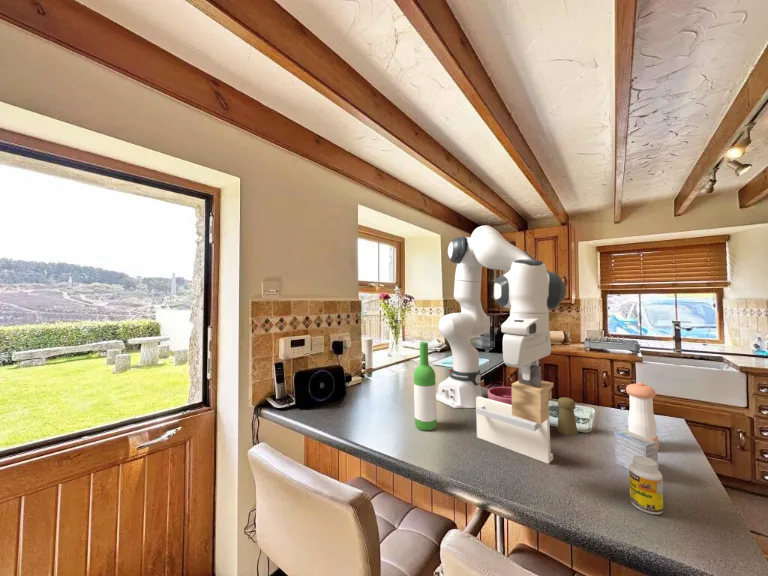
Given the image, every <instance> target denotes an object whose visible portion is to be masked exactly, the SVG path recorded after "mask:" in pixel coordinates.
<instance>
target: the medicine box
mask: <svg viewBox="0 0 768 576" xmlns="http://www.w3.org/2000/svg"><path fill="white" fill-rule="evenodd" d="M627 430H628V429H626V430H625V429H623V430H620V431H616V432H614V450H615V451H614V452H615V454H614V455H615V464H617V465H619V466H621V467H623V468H625V469H626V470H628V471H629V466H630V464H632V463H633V457H634V456H645V457H648V458H651V459H653V460H654V461H656V463H657V470H658V471H659V469H660V468H659V458H658V457H659V455H658V451H657V443H656V442H654V441H652V440H650V439H647V438H645V437H642V436H640V435H637V434H635V433H632V432H630V431H627Z"/></svg>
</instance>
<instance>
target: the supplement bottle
mask: <svg viewBox="0 0 768 576" xmlns="http://www.w3.org/2000/svg"><path fill="white" fill-rule="evenodd" d="M628 472H629V473H628V474H629V475H628V479H629V481H628V482H629V500H630V503H631V504H632V505H633V506H634V507H635V508H636V509H638V510H639V511H642V512H643V513H646V514H650V515H660V514H662V513H663V512H664V488H663V486H664V485H663V484H664V483H663V475H662V473H661V471H658V470H657V463H656V461H654V460H653V459H651V458H648V457H645V456H634V457H633V463H632V464H630V466H629V470H628Z"/></svg>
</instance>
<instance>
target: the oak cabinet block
mask: <svg viewBox="0 0 768 576" xmlns="http://www.w3.org/2000/svg"><path fill="white" fill-rule="evenodd" d="M530 372H532V379H530V380H524V379H523V378H522V371H521V368H518V380H517V381H514V382H513V383H511V387H512V415H513V416H516V417H519V418H522V419H526V420H529V421H532V422H535V423H538V424H542V423H543V422H544V421H546V420H547V419H548V418H549V419H550V413H549V411H550V409H549V408H550V405H549V403H550V402H549V399H550V400H551V399H552V388H554V382H552V381H551V382H550V381H546V380H542V366H539V365H538V366H536V365H531V366H530Z"/></svg>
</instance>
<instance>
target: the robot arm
mask: <svg viewBox="0 0 768 576" xmlns="http://www.w3.org/2000/svg"><path fill="white" fill-rule="evenodd" d="M447 255H448V259H449V261H450V262H451V263H453V264H456V267H455V273H454V283H453V284H454V288H453V298H454V300H455V301H456V302H457V303H458V304H459V306H460V311H461V312H452V313H448V314H445V315H443V316H442V317H440V319H439V320H438V321H439V322H438V331H439V333H440V334H441V336H442V337H443V338H444V339H446V341H447V342H448V344H449V346H450V350H451V355H452V356H451V357H452V367H451V368H450V369H448V370H447V371H448V372H447V373H448V374H449V373H450V374H449V376H448V377H446V378H445V379H444V380H442V381H441V382H440V383H439V384H438V386H437V391H436V402H437V401H438V402H440V403H441V404H445V405H447V406H449V407H451V408H454V409H460V408H465V409H474V408H475V409H476V397H478V396H479V397H483V394H482V387H481V382H482V381H481V377H482V376H481V369H480V353H479V350H478V349H477V348H475V347H474V346H473V345H472V343H471V337H479V336H482V335H484V334H485V333H487V332H488V331H489V330H490V327H491V321H490V318H489V316H488V315H487V314H486V313H485V311H484V309H483V307H482V306H483V305H482V301H481V297H482V296H481V295H482V294H481V293H482V291H481V289H482V268H483V267H485V268H487V269H490V270H498V271H507V272H506V273H504V274H501V275H499V276H498V277H497V278H496V279H495V280H494V282H493V285H492V292H493V293H492V296H493V297H492V298H493V300H494V301H495V302H496V303H497V304H498V305H499V306H500V307H502V308H508V309H510V310H509V316H508V318H507V319H506V320H505V321H504V322H503V323H502V324H501V325H500V328H501V333H503V337H502V358H503V362H504V364H505V365H506V366H507V367H513V368H518V369H519V368H521V371H522V378H523V379H524V380H530V379H532V372H530V366H531V365H536V366H539V362H540V360H541V359H543V358H545V357H548V356H550V355H551V353H552V340H551V332H550V316H549V315H550V314H549V313H550V310H554V309H555V308H557V307H559V306H560V304H561V303H562V302H563V301H564V300H565V298H566V296H567V287H566V284H565V282H564V280H563V279H562V278H561V276H560V275H558V274H557V273H556V272H552V271H550V270H548V269H547V266H546V264H545V262H543V261H542V260H539V259H535V258H534V257H533V256H531V254H529V253H528V252H527V251H524V250H523V249H521V248H519V247H517V246H515V245H514V244H512V243H510V242H509V241H507V240H506V239H505V238H504V236H503V235H502V234H501V233H500V232H499V231H498V230H497V229H495V228H494V227H492V226H491V225H481V226H478V227H476V228H475V229H474V230H473V231H472V233H471V236H470V237H469V236H458V237H454V238H453V239H451V240H450V242H449V245H448V248H447Z"/></svg>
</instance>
